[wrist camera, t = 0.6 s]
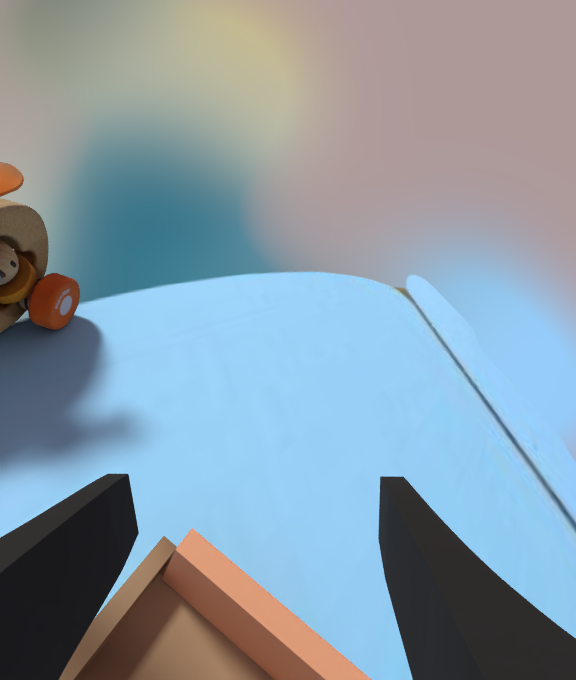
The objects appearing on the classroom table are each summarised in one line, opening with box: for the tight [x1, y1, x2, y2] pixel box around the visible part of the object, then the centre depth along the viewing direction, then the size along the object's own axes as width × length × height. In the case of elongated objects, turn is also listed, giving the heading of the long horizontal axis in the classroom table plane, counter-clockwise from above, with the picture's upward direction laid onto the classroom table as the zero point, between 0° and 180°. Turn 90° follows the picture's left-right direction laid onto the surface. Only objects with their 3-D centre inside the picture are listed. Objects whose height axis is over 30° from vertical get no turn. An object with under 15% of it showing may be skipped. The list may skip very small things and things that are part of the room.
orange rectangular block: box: [162, 528, 371, 680], centre depth 18 cm, size 1×11×6 cm, turn 60°
